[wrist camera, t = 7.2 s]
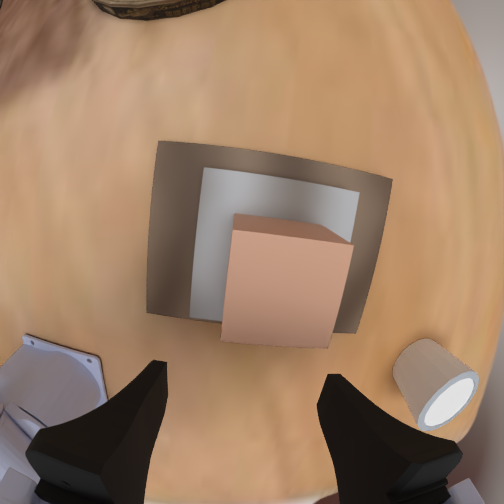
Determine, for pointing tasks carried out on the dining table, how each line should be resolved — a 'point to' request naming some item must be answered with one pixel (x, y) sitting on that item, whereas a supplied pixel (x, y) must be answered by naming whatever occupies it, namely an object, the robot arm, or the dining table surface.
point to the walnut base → (185, 218)
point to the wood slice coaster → (153, 8)
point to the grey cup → (433, 383)
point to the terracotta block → (283, 282)
